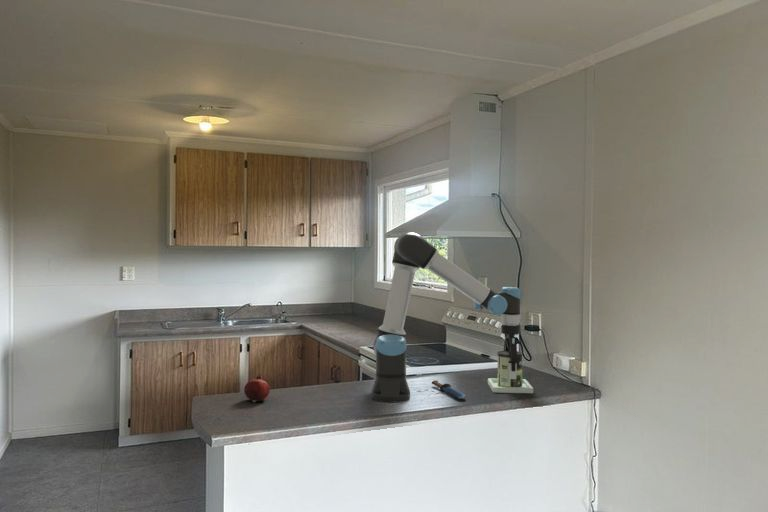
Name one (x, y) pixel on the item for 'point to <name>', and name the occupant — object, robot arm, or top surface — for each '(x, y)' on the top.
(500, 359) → the coffee can
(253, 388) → the fruit
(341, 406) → the top surface
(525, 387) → the tray
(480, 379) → the top surface
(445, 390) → the knife
